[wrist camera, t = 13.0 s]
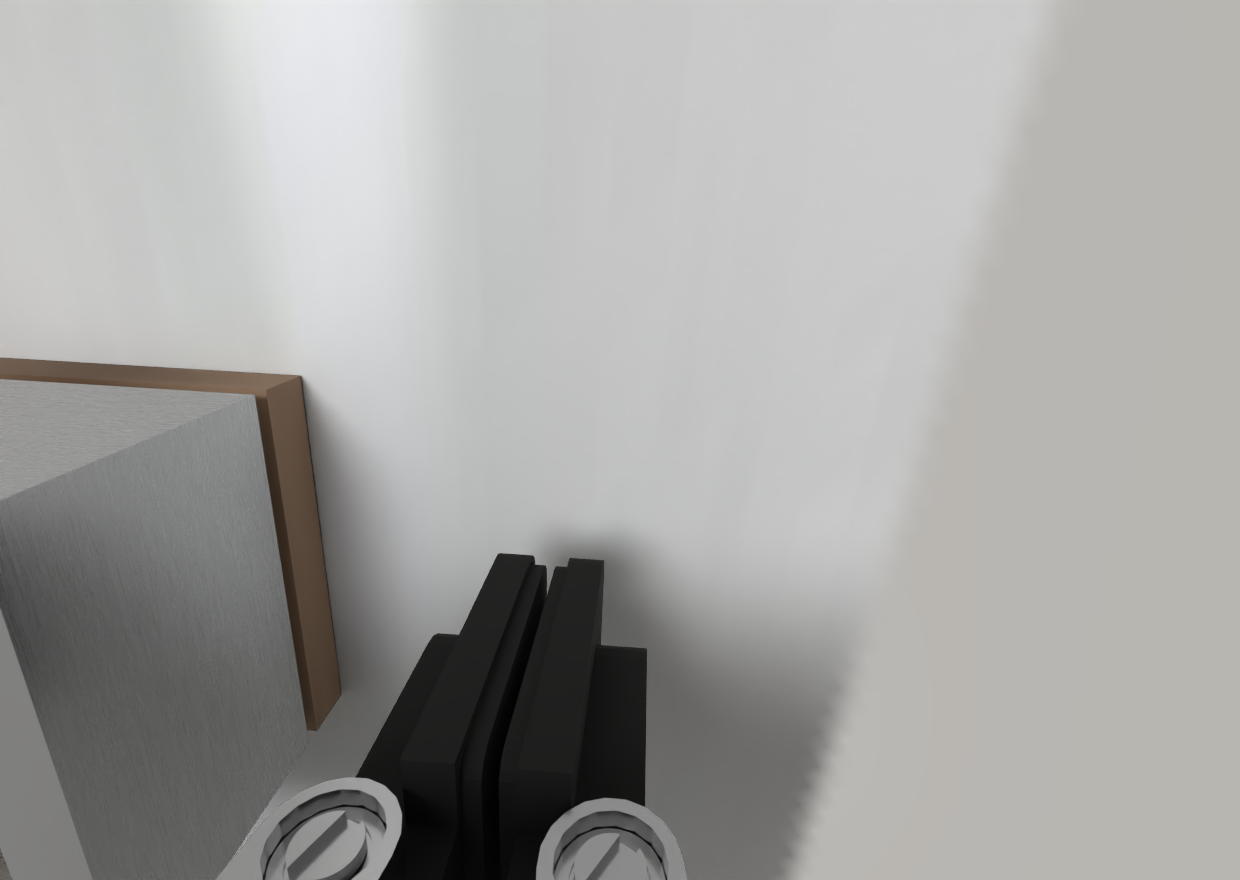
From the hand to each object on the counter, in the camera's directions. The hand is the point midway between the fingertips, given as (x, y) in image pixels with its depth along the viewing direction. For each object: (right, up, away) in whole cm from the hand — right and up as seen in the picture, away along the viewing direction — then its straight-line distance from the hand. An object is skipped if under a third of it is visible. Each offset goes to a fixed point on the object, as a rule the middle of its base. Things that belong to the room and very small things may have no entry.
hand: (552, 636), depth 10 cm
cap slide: (-7, +1, +1) cm, 7 cm away
